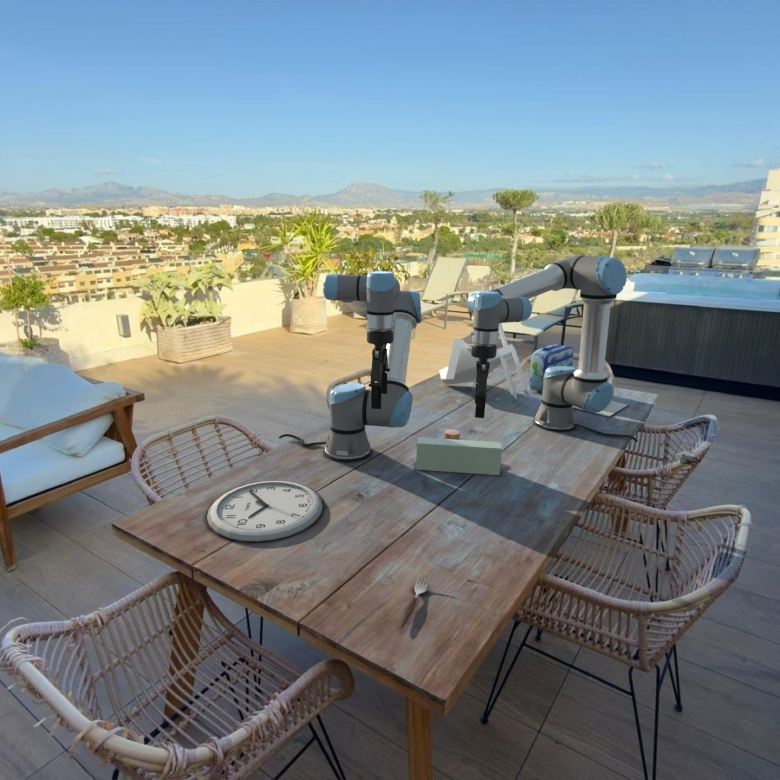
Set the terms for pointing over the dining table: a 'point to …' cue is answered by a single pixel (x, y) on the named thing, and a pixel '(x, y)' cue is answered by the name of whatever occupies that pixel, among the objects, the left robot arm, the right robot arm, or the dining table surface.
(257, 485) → the wall clock
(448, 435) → the orange cylinder puck
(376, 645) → the dining table surface
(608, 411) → the invitation card
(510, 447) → the dining table surface
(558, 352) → the lunch box
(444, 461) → the beam
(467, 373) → the white plastic object
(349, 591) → the dining table surface
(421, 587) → the fork
